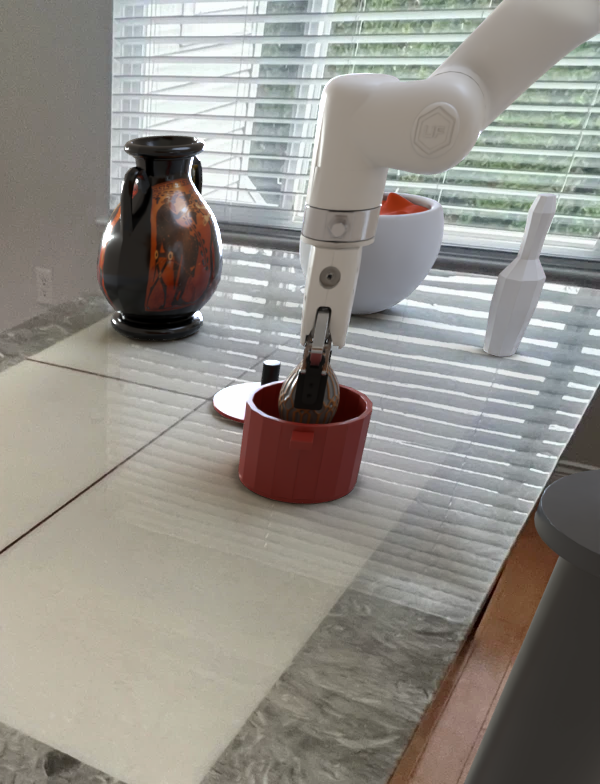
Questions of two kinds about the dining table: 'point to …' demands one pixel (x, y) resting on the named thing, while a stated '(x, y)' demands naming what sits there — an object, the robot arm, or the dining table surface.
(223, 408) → the lid
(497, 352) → the low poly bottle
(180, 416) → the dining table surface
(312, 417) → the vase
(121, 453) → the dining table surface
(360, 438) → the enamel pot
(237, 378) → the dining table surface
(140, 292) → the amphora vase
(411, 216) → the pot
